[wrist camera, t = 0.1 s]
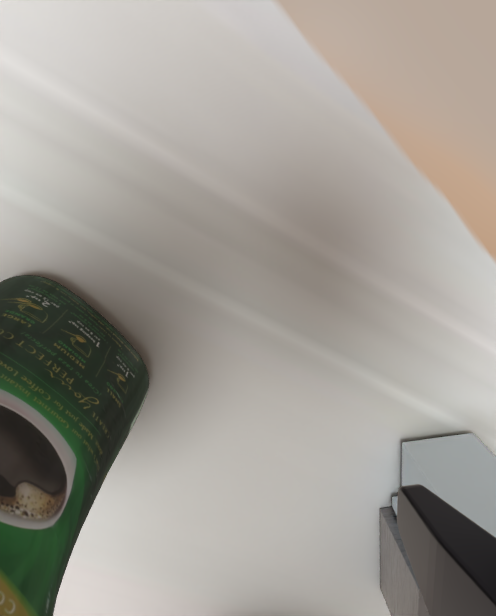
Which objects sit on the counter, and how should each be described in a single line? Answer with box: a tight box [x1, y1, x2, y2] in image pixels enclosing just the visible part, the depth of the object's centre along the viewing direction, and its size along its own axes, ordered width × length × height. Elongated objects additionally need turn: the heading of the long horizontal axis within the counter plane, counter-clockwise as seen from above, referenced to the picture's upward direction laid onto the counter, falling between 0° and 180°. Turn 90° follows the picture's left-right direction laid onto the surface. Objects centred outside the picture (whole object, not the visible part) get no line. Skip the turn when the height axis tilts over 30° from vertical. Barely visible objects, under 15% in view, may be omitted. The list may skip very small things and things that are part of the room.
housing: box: [380, 507, 429, 616], centre depth 26 cm, size 7×7×6 cm
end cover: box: [392, 433, 496, 537], centre depth 24 cm, size 11×6×8 cm, turn 6°
